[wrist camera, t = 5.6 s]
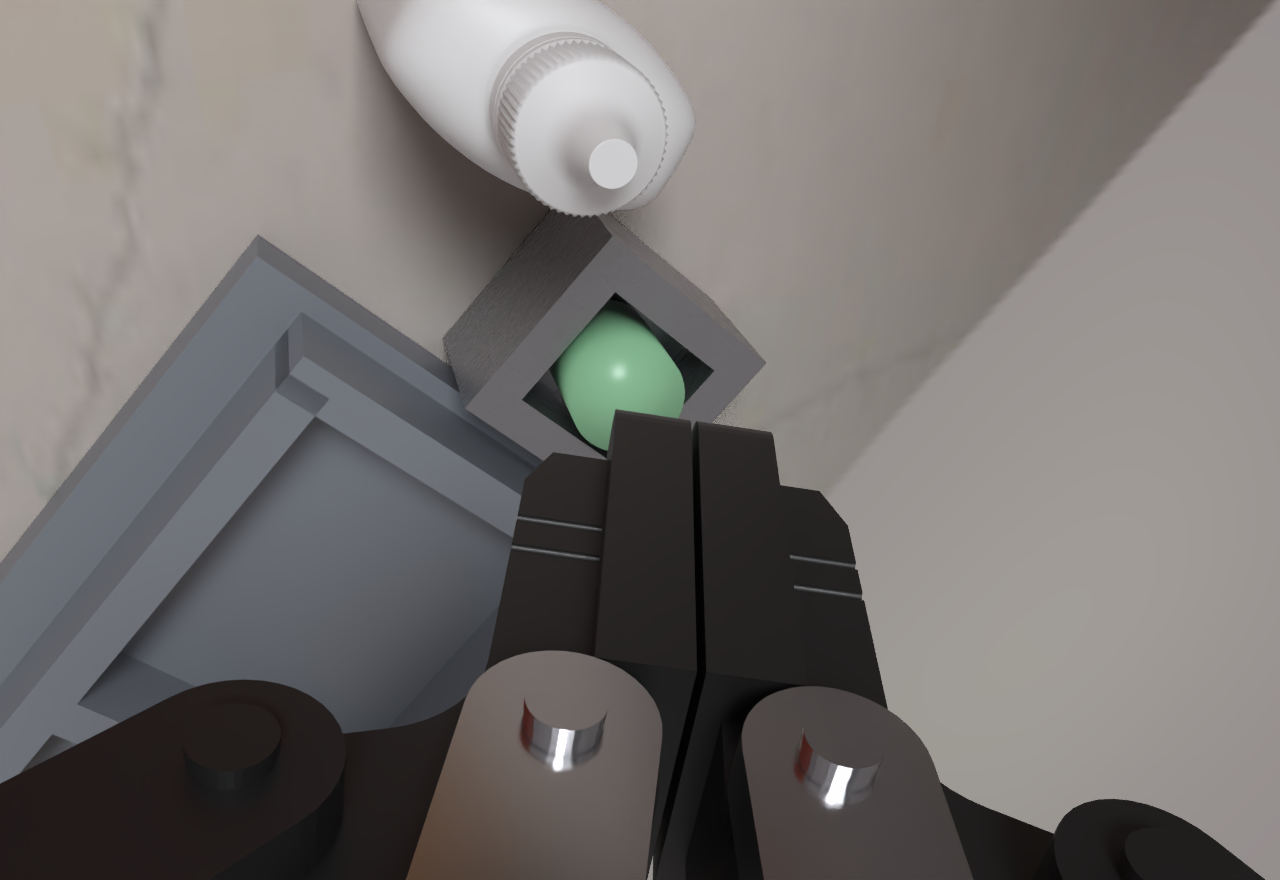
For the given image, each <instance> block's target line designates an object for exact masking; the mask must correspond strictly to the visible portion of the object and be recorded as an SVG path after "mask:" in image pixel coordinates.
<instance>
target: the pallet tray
mask: <svg viewBox="0 0 1280 880" xmlns="http://www.w3.org/2000/svg"><path fill="white" fill-rule="evenodd" d="M542 462H543V460H541V459H540V458H538V457H537V456H535V455H534V454H532V453H531V452H529V451H528V450H526V449H525V448H523V447H522V446H520V445H519V444H517V443H516V442H514V441H513V440H511V439H510V438H508V437H507V436H505V435H504V434H502V433H501V432H499V431H498V430H496V429H495V428H493V427H492V426H490V425H489V424H487V423H486V422H484V421H483V420H481V419H480V418H478V417H477V416H476V415H474V414H473V413H471V412H470V411H468V410H467V409H465V407H464V404H463V401H462V397H461V394H460V391H459V388H458V385H457V381H456V378H455V375H454V372H453V368H452V367H450V366H449V365H447V364H446V363H444V362H443V361H442V360H440V359H439V358H437V357H436V356H434V355H433V354H431V353H430V352H428V351H427V350H425V349H424V348H423V347H421V346H420V345H418V344H417V343H415V342H414V341H412V340H411V339H409V338H408V337H406V336H405V335H404V334H402V333H401V332H399V331H398V330H396V329H395V328H393V327H392V326H390V325H389V324H387V323H386V322H385V321H383V320H382V319H380V318H379V317H377V316H376V315H374V314H373V313H371V312H370V311H369V310H367V309H366V308H364V307H363V306H361V305H360V304H358V303H357V302H355V301H354V300H352V299H351V298H350V297H348V296H347V295H345V294H344V293H342V292H341V291H339V290H338V289H336V288H335V287H333V286H332V285H331V284H329V283H328V282H326V281H325V280H323V279H322V278H320V277H319V276H317V275H316V274H315V273H313V272H312V271H310V270H309V269H307V268H306V267H304V266H303V265H301V264H300V263H298V262H297V261H296V260H294V259H293V258H291V257H290V256H288V255H287V254H285V253H284V252H282V251H281V250H279V249H278V248H277V247H275V246H274V245H272V244H271V243H269V242H268V241H266V240H265V239H263V238H262V237H261V236H259V235H257V236H256V238H255V239H254V240H253V242H252V243H251V244H250V245H249V247H248V248H247V249H246V250H245V252H244V253H243V254H242V256H241V257H240V258H239V259H238V261H237V262H236V263H235V265H234V266H233V267H232V268H231V270H230V271H229V272H228V273H227V275H226V276H225V277H224V279H223V280H222V281H221V282H220V284H219V285H218V286H217V288H216V289H215V290H214V291H213V293H212V294H211V295H210V296H209V298H208V299H207V300H206V302H205V303H204V304H203V305H202V307H201V308H200V309H199V311H198V312H197V313H196V314H195V316H194V317H193V318H192V319H191V321H190V322H189V323H188V325H187V326H186V327H185V328H184V330H183V331H182V332H181V334H180V335H179V336H178V337H177V339H176V340H175V341H174V342H173V344H172V345H171V346H170V348H169V349H168V350H167V351H166V353H165V354H164V355H163V357H162V358H161V359H160V360H159V362H158V363H157V364H156V365H155V367H154V368H153V369H152V371H151V372H150V373H149V374H148V376H147V377H146V378H145V380H144V381H143V382H142V383H141V385H140V386H139V387H138V388H137V390H136V391H135V392H134V394H133V395H132V396H131V397H130V399H129V400H128V401H127V403H126V404H125V405H124V406H123V408H122V409H121V410H120V411H119V413H118V414H117V415H116V417H115V418H114V419H113V420H112V422H111V423H110V424H109V426H108V427H107V428H106V429H105V431H104V432H103V433H102V434H101V436H100V437H99V438H98V440H97V441H96V442H95V443H94V445H93V446H92V447H91V449H90V450H89V451H88V452H87V454H86V455H85V456H84V457H83V459H82V460H81V461H80V463H79V464H78V465H77V466H76V468H75V469H74V470H73V472H72V473H71V474H70V475H69V477H68V478H67V479H66V480H65V482H64V483H63V484H62V486H61V487H60V488H59V489H58V491H57V492H56V493H55V495H54V496H53V497H52V498H51V500H50V501H49V502H48V503H47V505H46V506H45V507H44V509H43V510H42V511H41V512H40V514H39V515H38V516H37V518H36V519H35V520H34V521H33V523H32V524H31V525H30V526H29V528H28V529H27V530H26V532H25V533H24V534H23V535H22V537H21V538H20V539H19V541H18V542H17V543H16V544H15V546H14V547H13V548H12V549H11V551H10V552H9V553H8V555H7V556H6V557H5V558H4V560H3V561H2V562H1V564H0V783H2V782H4V781H6V780H8V779H10V778H12V777H14V776H16V775H18V774H20V773H22V772H24V771H26V770H28V769H30V768H32V767H34V766H36V765H38V764H40V763H42V762H43V761H45V760H47V759H49V758H51V757H53V756H55V755H57V754H59V753H61V752H63V751H65V750H67V749H69V748H71V747H73V746H75V745H77V744H79V743H81V742H83V741H85V740H87V739H89V738H91V737H93V736H95V735H96V734H98V733H100V732H102V731H104V730H106V729H108V728H110V727H112V726H114V725H116V724H118V723H120V722H122V721H124V720H126V719H128V718H130V717H132V716H134V715H136V714H138V713H140V712H142V711H144V710H146V709H148V708H149V707H151V706H153V705H155V704H157V703H159V702H161V701H163V700H165V699H167V698H169V697H171V696H174V695H176V694H178V693H180V692H183V691H185V690H187V689H191V688H194V687H197V686H201V685H204V684H209V683H214V682H220V681H227V680H242V679H245V680H263V681H268V682H274V683H280V684H283V685H286V686H289V687H292V688H296V689H298V690H300V691H302V692H304V693H306V694H308V695H310V696H312V697H313V698H314V699H316V700H317V701H319V702H320V703H322V704H323V705H324V706H325V707H326V708H327V709H328V710H329V711H330V712H331V713H332V714H333V716H334V717H335V719H336V720H337V722H338V724H339V725H340V727H341V730H342V733H343V734H344V733H352V732H361V731H369V730H378V729H386V728H393V727H399V726H404V725H409V724H413V723H416V722H419V721H423V720H426V719H429V718H431V717H433V716H435V715H438V714H440V713H442V712H444V711H446V710H447V709H449V708H451V707H452V706H454V705H456V704H457V703H458V702H460V701H461V700H462V699H463V698H464V697H466V696H467V695H468V693H469V690H470V688H471V687H472V685H473V684H474V683H475V682H476V680H477V679H478V678H479V677H480V676H481V675H482V674H483V673H484V672H485V669H486V665H487V662H488V659H489V654H490V649H491V644H492V639H493V634H494V629H495V624H496V619H497V614H498V609H499V604H500V599H501V594H502V589H503V584H504V579H505V575H506V570H507V565H508V560H509V555H510V550H511V546H512V540H513V535H514V530H515V525H516V521H517V516H518V510H519V505H520V500H521V495H522V490H523V485H524V480H525V478H526V477H527V476H528V475H529V474H531V473H532V472H533V471H534V470H535V469H536V468H537V467H538V466H539V465H540V464H541V463H542Z"/></svg>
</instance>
